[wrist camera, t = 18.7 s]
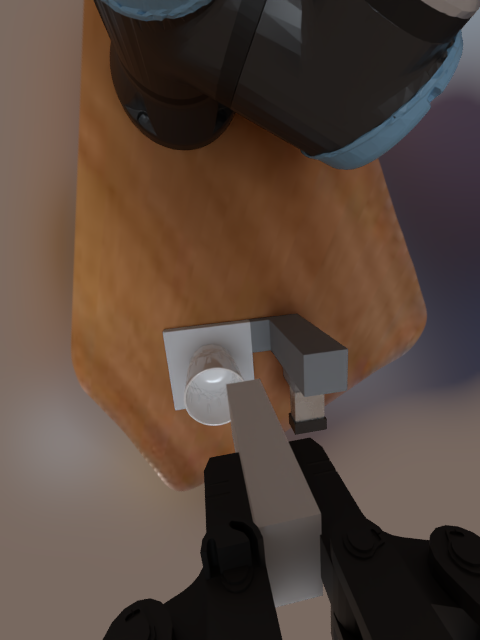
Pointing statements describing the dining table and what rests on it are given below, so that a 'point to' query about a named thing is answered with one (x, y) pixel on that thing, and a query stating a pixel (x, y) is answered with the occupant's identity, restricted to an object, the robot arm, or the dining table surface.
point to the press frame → (262, 335)
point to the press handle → (305, 410)
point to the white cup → (210, 384)
